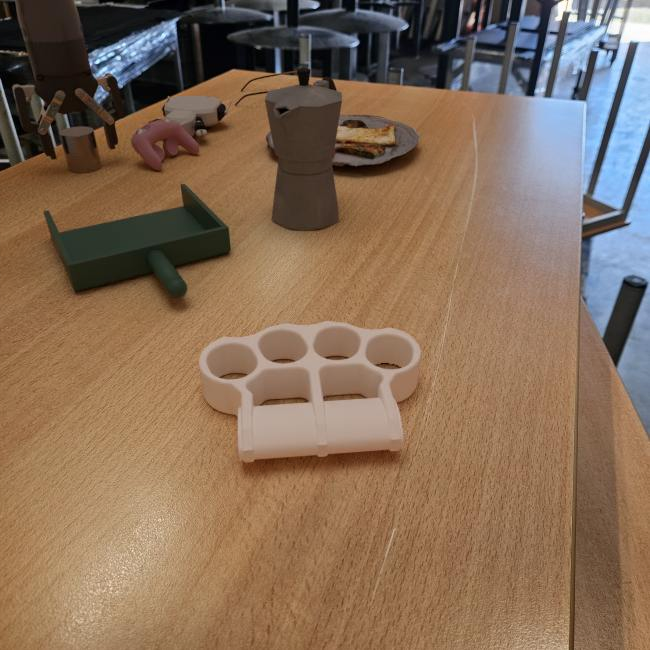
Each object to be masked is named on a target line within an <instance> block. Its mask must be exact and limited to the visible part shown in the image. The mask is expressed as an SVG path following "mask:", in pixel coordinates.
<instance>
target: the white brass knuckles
mask: <svg viewBox="0 0 650 650" xmlns="http://www.w3.org/2000/svg"><path fill="white" fill-rule="evenodd" d="M337 356H339V357H344V359H329V358H330V357H337ZM276 360H290V361H292V362H283V363H281V362H274V361H276ZM421 360H422V350H421V347H420V345H419V343H418V342H417V340H416V339H415V338H414V337H413V336H411V335H410V334H408V333H407V332H405V331H403V330H400V329H397V328H394V327H390V326H389V327H385V328H377V329H376V328H375V329H374V328H373V329H371V328H362V327H358V326H355V325H352V324H351V323H349V322H342V321H331V320H324V321H322V322H318V323H313V324H294V323H290V322H285V323H281V324H276V325H271V326H266V327H265V328H264V329H262V330H261V331H259V332H256V333H253V334H250V335H246V336H232V337H231V336H222V337H220V338H217V339H215V340H213V341H212V342H211V343H209V344H208V345H207V346H206V347H204V349H203V350H202V352H201V353H200V356H199V358H198V372H199V376H200V384H201V390H202V395H203V397H204V400H205V401H206V403H207V404H208V405H209V406H210V407H211V408H212V409H214V410H216V411H218V412H220V413H223V414H227V415H234V416H236V417H237V452H238V453H237V454H238V460H239V461H243V463H254V462H255V460H268V459H280V458H281V459H282V458H296V457H307V456H317V457H319V458H322V457H328V455H335V454H348V453H349V454H350V453H363V452H375V451H387V450H388V451H390V452H399V451H400V450H401V449H403V448H404V441H405V440H404V428H403V423H402V422H403V421H402V417H401V413H400V409H399V406H398V403H400V402H403V401H404V400H407V399H408V398H409V397H411V396H412V395H413V394H414V392H415V391H416V389H417V387H418V381H419V374H420V368H421ZM381 363H389V364H388V365H392V364H395V365H394V366H396V365H398V366H399V368H383V367H379V366H378V365H382V364H381ZM398 366H397V367H398ZM400 367H401V368H400ZM229 374H243V375H245V376H243V377H239V378H234V379H231V378H230V379H227V378H221V377H224V376H226V375H229ZM340 395H341V396H342V395H362V396H363V397H365V398H353V399H352V398H351V399H340V400H339V399H337V400H325V401H324V398H325V397H327V396H328V397H329V396H340ZM297 398H301V399H304V400H306V401H307V402H297V403H295V402H294V403H280V404H267V405H263V403H264V402H266V401H268V400H281V399H297ZM239 461H238V462H239Z"/></svg>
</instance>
